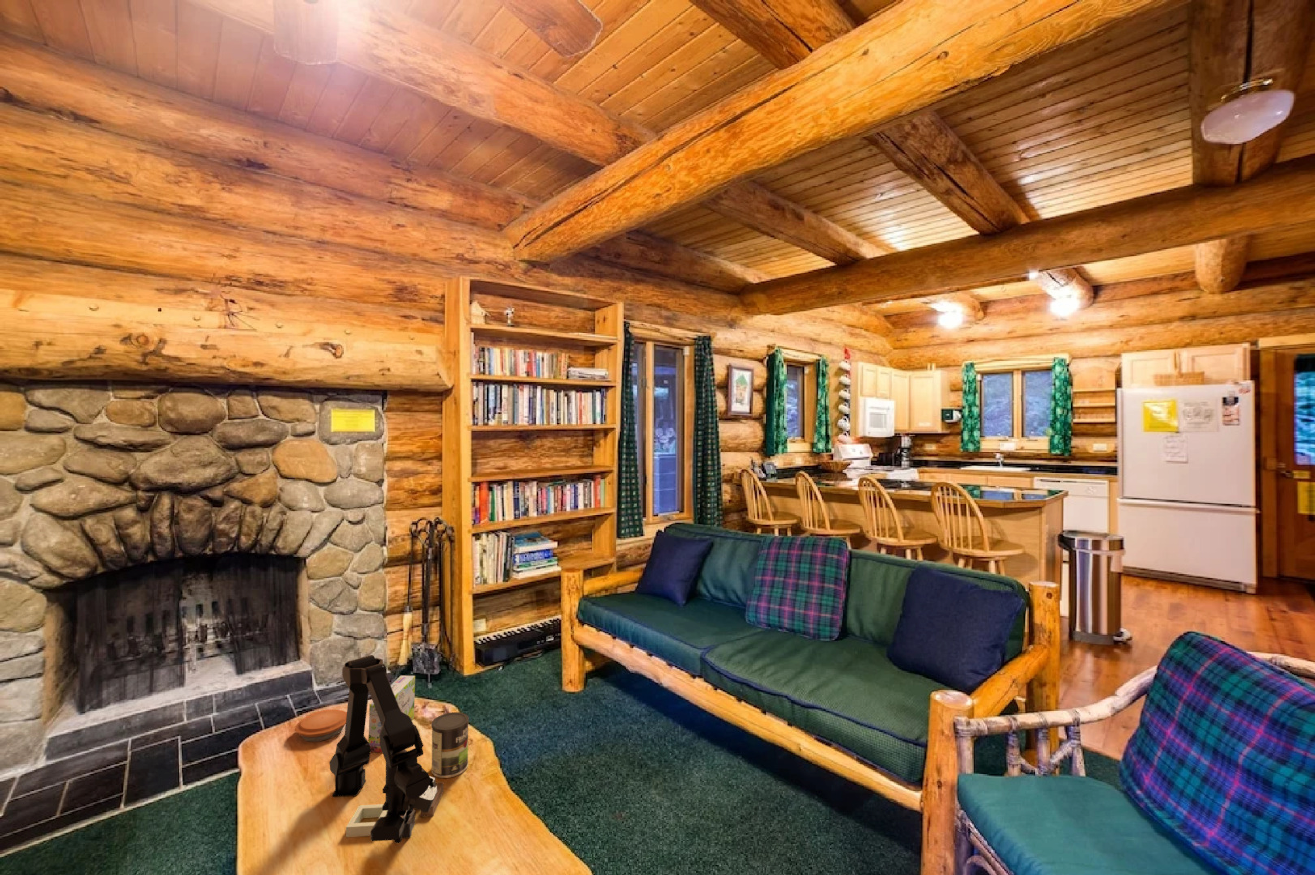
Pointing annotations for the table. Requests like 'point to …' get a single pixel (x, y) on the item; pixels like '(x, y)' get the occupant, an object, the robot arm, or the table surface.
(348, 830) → the beige square frame
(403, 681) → the snack box
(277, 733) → the table surface
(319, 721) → the pie
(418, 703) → the table surface
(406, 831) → the dark grey block
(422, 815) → the socket block
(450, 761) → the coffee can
